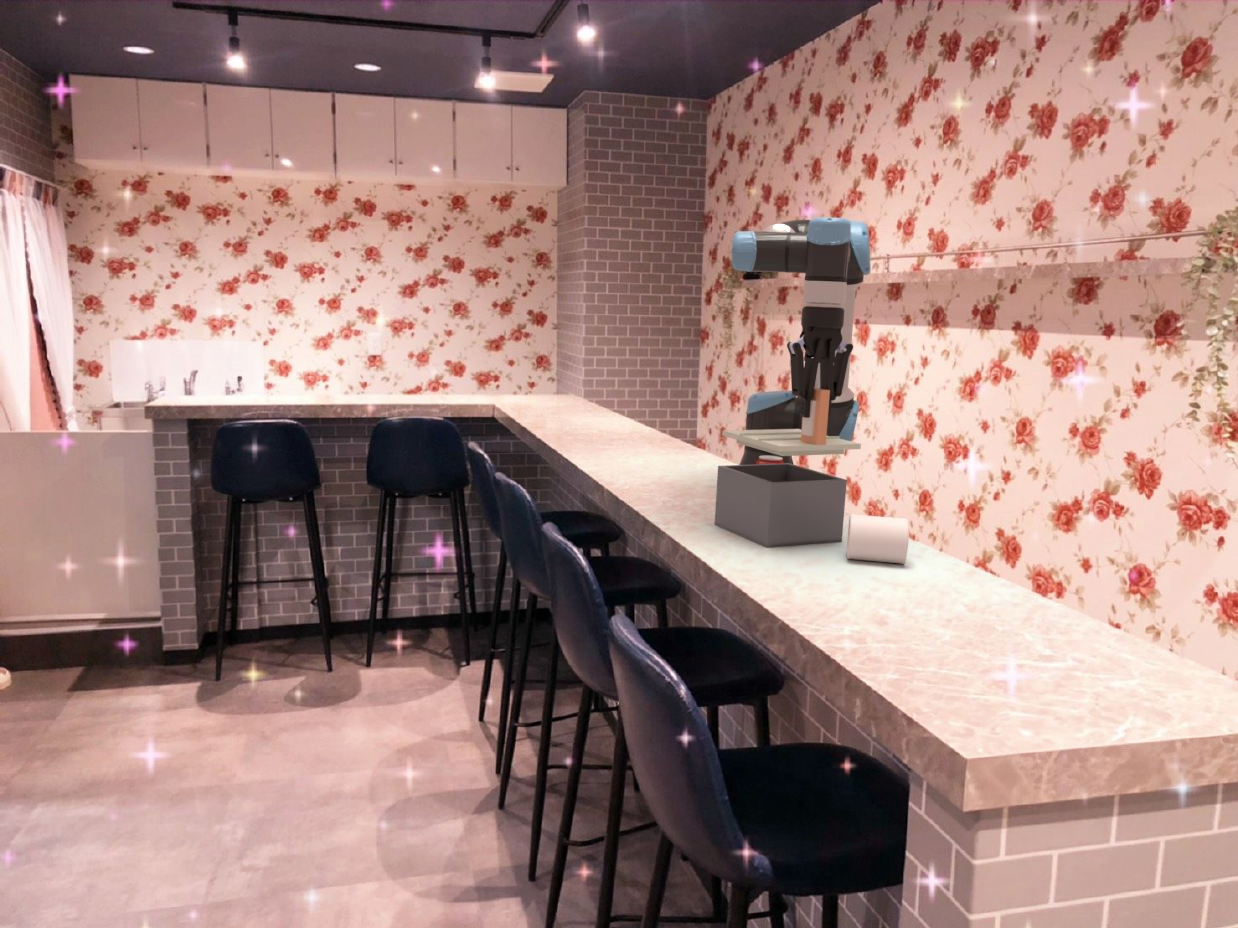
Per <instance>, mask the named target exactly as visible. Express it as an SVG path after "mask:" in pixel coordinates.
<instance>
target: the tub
mask: <svg viewBox="0 0 1238 928" xmlns="http://www.w3.org/2000/svg"><path fill="white" fill-rule="evenodd" d="M847 480H848V479H844V478H841V477H838V476H834V475H831V474H828V473H824V472H821V471H817V470H814V469H810V468H807V467H803V466H800V465H798V464H795V463H793V464H790V463H781V464H754V465H739V464H732V465H718V466H717V480H716V495H715V496H716V497H715V511H714V512H715V513H714V526H717V527H719V528H721V529H724V530H725V531H729V532H730V533H733V534H735V535H738V536H740V537H742V538H744V539H747V540H749V541H751V542H753V543H755V544H758V545H760V546H762V547H765V548H777V547H791V546H800V545H802V546H803V545H814V544H825V543H827V544H828V543H839V542H842V541H843V531H844V517H845V505H846V497H847V496H846V493H847Z"/></svg>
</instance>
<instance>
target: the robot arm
mask: <svg viewBox="0 0 1238 928" xmlns="http://www.w3.org/2000/svg"><path fill="white" fill-rule="evenodd" d="M869 231H870V229H869V227H868V225H867V223H865V222H864V221H857V220H849V219H847V218H845V217H844V218H843V217H832V216H831V217H829V216H828V217H827V216H826V217H813V218H812V219H794V220H789V221H783V222H779V223H774V224H771V225H768V226H767V227H765V228H764V229H763V230H762V231H753V230H748V231H743V230H742V231H736V232H735V233H734V235H733V238H732V243H731V265H732V268H733V269H734V270H735V271H740V272H747V273H750V272H751V273H752V272H755V273H759V272H761V273H763V272H764V273H788V274H789V273H790V274H804V281H803V294H802V295H803V297H802V302H803V303H804V304H805V306H803V307H802V308H801V318H800V319H801V321H800V322H801V323H800V325H801V327H802V328H801V329H802V330H801V333H800V335H799V338H798V339H796V340H794V341H789V342H787V344H786V347H787V350H788V353H789V357H790V359H789V360H790V376H791V377H790V378H791V379H790V380H791V381H790V382H791V384H790V385H791V390H775V391H774V390H773V391H771V390H770V391H762V392H756V393H753V394H751V395H750V396H749V397H748V400H747V406H746V412H745V414H746V417H745V418H746V419H745V421H746V422H745V430H770V429H801V430H802V434H803V435H807V436H814V424H815V411H816V401H814V400H812V399H813V394H814V388H820V389H826V390H830V397H829V409H828V422H827V435H826V436H839V437H840V439H843V440H847V441H851V442H853V437H854V434H855V429H856V424H857V421H858V413H859V409H860V402H859V401H858V400H856V399H855V393H854V392H853V391H852V390H851V389H850V387H849V382H850V381H849V379H850V366H851V355H852V351H853V350H854V344H852V343H853V328H854V316H855V303H856V302H855V301H856V293H857V292H856V291H857V288H858V287H859V286H861V285H862V284H863V283H864V277H865V276H868V275H869V274H870V273H871V247H870V246H871V245H870V244H871V242H870V232H869ZM802 417H803V422H802ZM743 448H744V450H743V455H742V457H741V459H740V462H739V464H738V465H754V464H756V462H757V461H758V460H759V456H778V457H782V458H783V459H782V460H783V462H784V463H790V464H794V461H793V456H780V455H777V454H773V453H770V452H766V451H763V450H759V449H756V448H752V447H749V446H745V445H744V447H743Z"/></svg>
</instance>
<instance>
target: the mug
mask: <svg viewBox="0 0 1238 928" xmlns="http://www.w3.org/2000/svg"><path fill="white" fill-rule="evenodd" d="M909 523H910V522H909V520H908V519H907V518H901V517H891V516H890V517H888V516H878V515H877V516H876V515H863V514H855V513H854V514H853V513H852V514H851V513H850V515H849V519H848V526H847V527H848V528H847V539H846V540H847V541H846V558H847V559H848V560H855V561H856V560H857V561H858V560H859V561H867V562H880V563H888V564H889V563H890V564H900V565H901V564H902V565H904V564H905V563H906V561H907V556H908V549H909V538H910V537H909V536H910V535H909V533H910V530H909V529H910V525H909Z"/></svg>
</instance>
